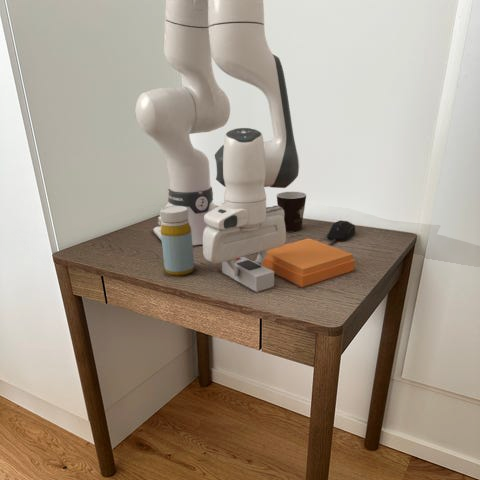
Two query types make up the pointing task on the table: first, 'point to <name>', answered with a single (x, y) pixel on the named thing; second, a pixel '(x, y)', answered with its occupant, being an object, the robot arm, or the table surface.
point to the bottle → (176, 241)
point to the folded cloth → (308, 262)
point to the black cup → (292, 209)
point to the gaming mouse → (341, 231)
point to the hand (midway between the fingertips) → (246, 272)
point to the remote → (251, 274)
